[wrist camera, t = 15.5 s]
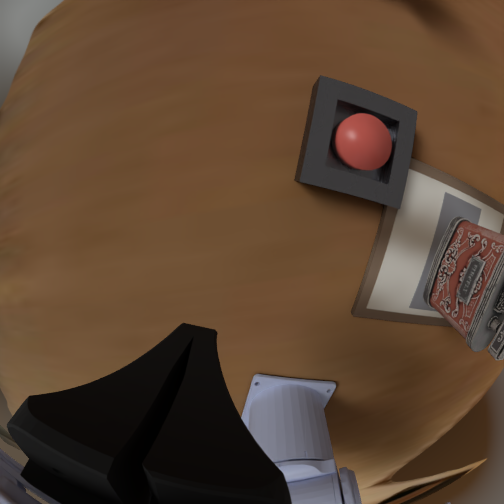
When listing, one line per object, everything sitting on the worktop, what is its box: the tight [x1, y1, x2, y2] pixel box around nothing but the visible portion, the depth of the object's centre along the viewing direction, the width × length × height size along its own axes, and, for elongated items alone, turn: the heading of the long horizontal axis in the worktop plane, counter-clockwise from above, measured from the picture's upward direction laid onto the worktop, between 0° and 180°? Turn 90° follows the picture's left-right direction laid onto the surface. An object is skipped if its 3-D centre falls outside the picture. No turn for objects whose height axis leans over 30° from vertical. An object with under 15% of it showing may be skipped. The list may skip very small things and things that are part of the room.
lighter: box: [423, 216, 504, 360], centre depth 14 cm, size 8×3×10 cm, turn 165°
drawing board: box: [351, 158, 504, 327], centre depth 19 cm, size 13×15×1 cm
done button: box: [332, 113, 392, 170], centre depth 15 cm, size 4×4×2 cm
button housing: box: [295, 75, 417, 209], centre depth 16 cm, size 7×7×2 cm
